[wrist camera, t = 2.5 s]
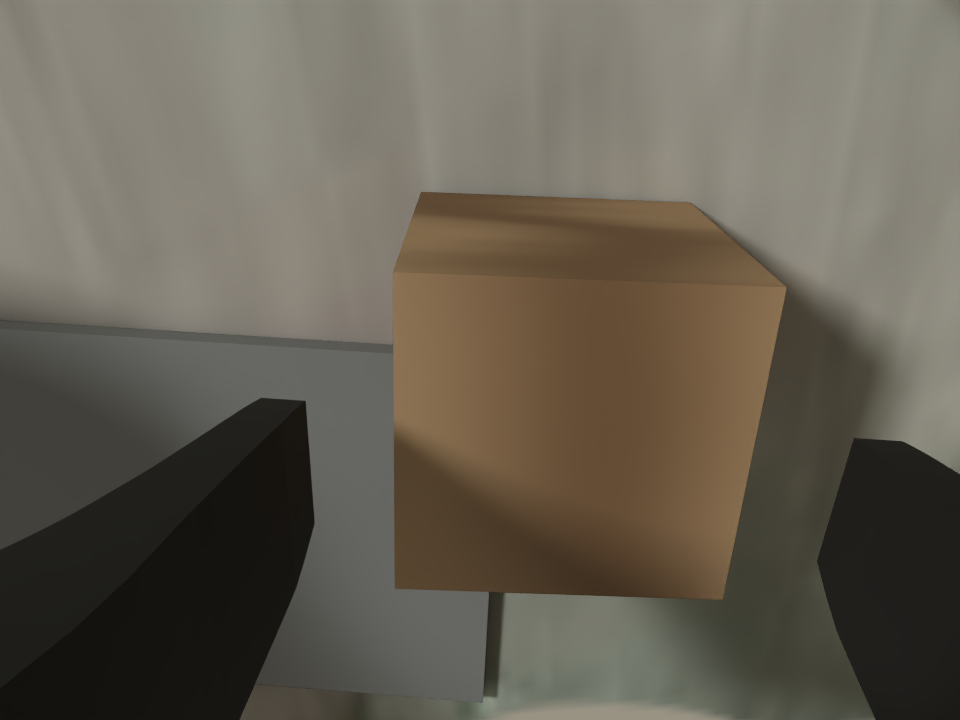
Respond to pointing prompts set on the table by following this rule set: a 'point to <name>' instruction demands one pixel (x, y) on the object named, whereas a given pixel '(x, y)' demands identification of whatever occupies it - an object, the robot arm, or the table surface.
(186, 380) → the mat
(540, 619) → the table surface
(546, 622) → the table surface
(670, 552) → the cube
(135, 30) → the table surface
